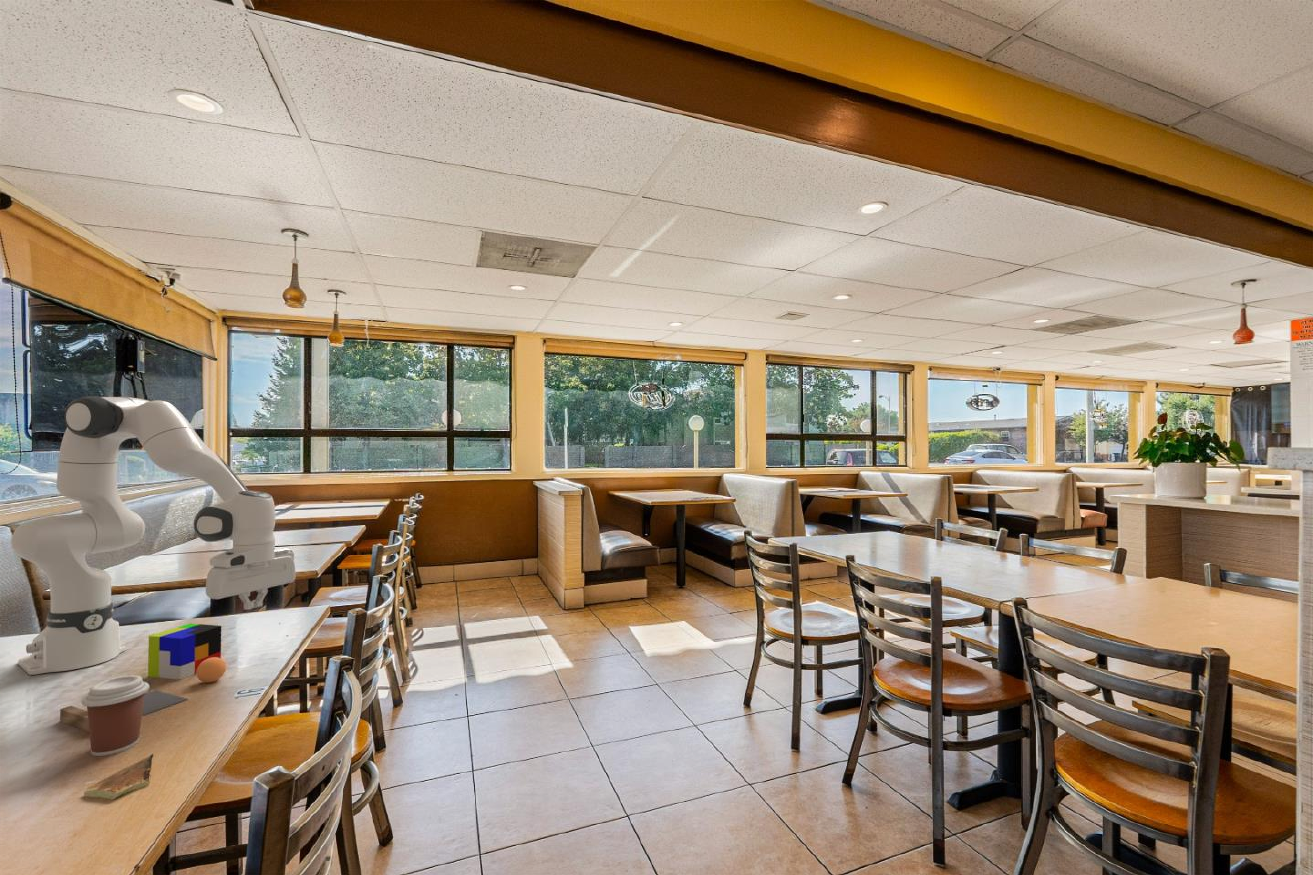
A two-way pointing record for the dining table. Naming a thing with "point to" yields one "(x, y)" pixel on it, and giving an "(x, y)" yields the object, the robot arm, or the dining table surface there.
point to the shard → (123, 780)
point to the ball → (211, 669)
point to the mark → (159, 701)
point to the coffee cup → (115, 713)
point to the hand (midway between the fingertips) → (253, 607)
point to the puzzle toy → (182, 650)
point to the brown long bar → (75, 717)
